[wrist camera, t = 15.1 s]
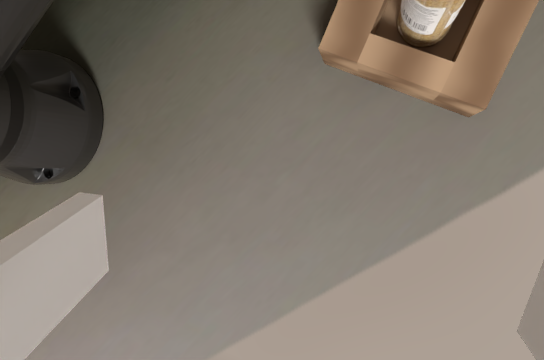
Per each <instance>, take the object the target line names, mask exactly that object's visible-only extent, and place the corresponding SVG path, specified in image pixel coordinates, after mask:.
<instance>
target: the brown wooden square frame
mask: <svg viewBox="0 0 544 360" xmlns="http://www.w3.org/2000/svg"><path fill="white" fill-rule="evenodd" d="M401 1H402V0H338V2H337V5H336V7H335V10H334V12H333V14H332V17H331V19H330V22H329V24H328V26H327V29H326V31H325V34H324V36H323V38H322V41H321V43H320V46H319V48H318V49H319V51H320V54H321V56H322V58H323V61H324V63H325V64H327V65H329V66H332V67H335V68H338V69H340V70H343V71H346V72H348V73H351V74H354V75H356V76H359V77H362V78H364V79H367V80H370V81H373V82H375V83H378V84H381V85H383V86H386V87H389V88H391V89H394V90H397V91H399V92H402V93H405V94H408V95H410V96H413V97H416V98H418V99H421V100H424V101H426V102H429V103H432V104H434V105H437V106H440V107H443V108H445V109H448V110H451V111H453V112H456V113H459V114H461V115H464V116H467V117H470V116H472V115H474V114H477V113H479V112H481V111H483V110H485V109H486V107H487V105H488V103H489V101H490V99H491V97H492V95H493V93H494V91H495V89H496V87H497V85H498V83H499V81H500V79H501V77H502V75H503V73H504V71H505V69H506V67H507V64H508V62H509V60H510V58H511V56H512V54H513V52H514V50H515V48H516V46H517V44H518V42H519V40H520V38H521V36H522V34H523V32H524V30H525V28H526V26H527V24H528V22H529V20H530V17H531V15H532V13H533V11H534V9H535V7H536V5H537V3H538V1H539V0H465V2H464V4H463V6H462V8H461V9H460V11H459V13H458V15H457V16H456V18H455V19H454V21H453V22H452V25H451V28H450V30H449V32H448V33H447V34H446V35H445V36H444V37H443V39H442V40H440V41H439V42H437V43H436V44H434V45H431V46H425V47H418V46H413V45H411V44H409V43H407V42H406V41H405V40H404V39H403V38H402V37H401V35H400V34H399V31H398V27H397V19H398V16H399V12H400V10H401Z"/></svg>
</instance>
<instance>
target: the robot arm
mask: <svg viewBox="0 0 544 360" xmlns="http://www.w3.org/2000/svg"><path fill="white" fill-rule="evenodd" d="M53 1H54V0H0V176H3V177H6V178H9V179H12V180H15V181H19V182H22V183H26V184H36V185H39V184H55V183H60V182H64V181H67V180H69V179H71V178H73V177H74V176H76V175H77V174H78V173H80V172H81V171H82V170H83V169H84V168H85V167H86V166H87V165H88V163H89V162H90V161H91V159H92V158H93V156H94V154H95V152H96V150H97V147H98V145H99V142H100V138H101V134H102V127H103V111H102V104H101V100H100V96H99V93H98V91H97V88H96V86H95V84H94V82H93V81H92V79H91V78H90V76H89V75H88V74H87V73H86V71H85V70H84V69H83V68H82V67H80V66H79V65H78V64H77V63H75V62H74V61H72V60H70V59H68V58H65V57H62V56H60V55H57V54H54V53H51V52H48V51H42V50H20V49H21V48H22V46H23V45H24V43H25V42H26V40H27V39H28V37H29V36H30V34H31V33H32V32H33V30H34V29H35V27H36V26H37V24H38V23H39V21H40V20H41V18H42V17H43V15H44V14H45V13H46V11H47V10H48V8H49V7H50V5H51V4H52V2H53ZM108 271H109V268H108V256H107V244H106V232H105V220H104V208H103V196H102V195H97V194H89V193H81V192H79V193H77V194H76V195H74V196H72V197H71V198H69V199H67V200H66V201H64V202H63V203H61V204H59V205H58V206H56V207H54V208H53V209H51V210H49V211H48V212H46V213H44V214H43V215H41V216H40V217H38V218H36V219H35V220H33V221H31V222H30V223H28V224H26V225H25V226H23V227H22V228H20V229H18V230H17V231H15V232H13V233H12V234H10V235H8V236H7V237H5V238H3V239H2V240H0V360H24V359H25V358H26V357H27V356H28V355H29V354H30V353H31V352H32V351H33V350H34V349H35V348H36V347H37V346H38V345H39V343H40V342H41V341H42V340H43V339H44V338H45V337H46V336H47V335H48V334H49V333H50V332H51V331H52V330H53V329H54V328H55V327H56V326H57V325H58V323H59V322H60V321H61V320H62V319H63V318H64V317H65V316H66V315H67V314H68V313H69V312H70V311H71V310H72V309H73V308H74V307H75V306H76V304H77V303H78V302H79V301H80V300H81V299H82V298H83V297H84V296H85V295H86V294H87V293H88V292H89V291H90V290H91V289H92V288H93V287H94V285H95V284H96V283H97V282H98V281H99V280H100V279H101V278H102V277H103V276H104V275H105V274H106V273H107V272H108ZM517 332H518V333H519V335H520V336H521V338H522V339H523V341H524V342H525V344H526V345H527V347H528V348H529V350H530V351H531V353H532V354H533V356H534V357H535V359H536V360H544V261H543V264H542V267H541V269H540V272H539V274H538V277H537V280H536V282H535V285H534V287H533V290H532V293H531V295H530V298H529V301H528V304H527V306H526V308H525V311H524V314H523V316H522V319H521V322H520V324H519V327H518V329H517Z"/></svg>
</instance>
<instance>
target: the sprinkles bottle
mask: <svg viewBox="0 0 544 360" xmlns="http://www.w3.org/2000/svg"><path fill="white" fill-rule="evenodd" d="M464 2H465V0H402V1H401V10H400V12H399V16H398V19H397V27H398V31H399V34H400V35H401V37H402V38H403V39H404V40H405V41H406V42H407V43H409V44H411V45H413V46H418V47H425V46H431V45H434V44H436V43H437V42H439V41H440V40H442V39H443V37H444V36H445V35H446V34H447V33H448V32H449V30H450V28H451V25H452V22H453V21H454V19H455V18H456V16H457V15H458V13H459V11H460V9H461V8H462V6H463V4H464Z"/></svg>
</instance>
